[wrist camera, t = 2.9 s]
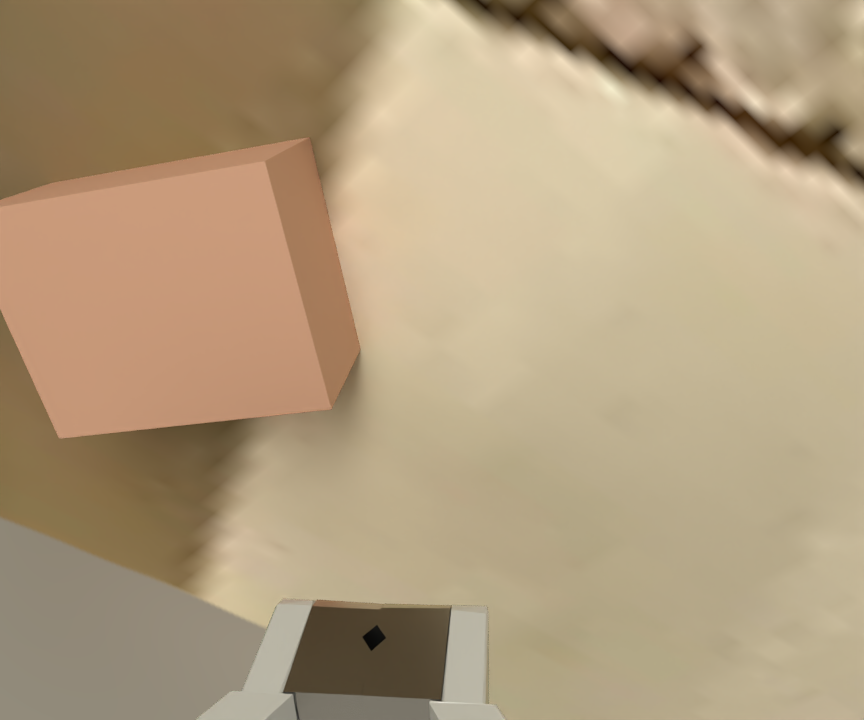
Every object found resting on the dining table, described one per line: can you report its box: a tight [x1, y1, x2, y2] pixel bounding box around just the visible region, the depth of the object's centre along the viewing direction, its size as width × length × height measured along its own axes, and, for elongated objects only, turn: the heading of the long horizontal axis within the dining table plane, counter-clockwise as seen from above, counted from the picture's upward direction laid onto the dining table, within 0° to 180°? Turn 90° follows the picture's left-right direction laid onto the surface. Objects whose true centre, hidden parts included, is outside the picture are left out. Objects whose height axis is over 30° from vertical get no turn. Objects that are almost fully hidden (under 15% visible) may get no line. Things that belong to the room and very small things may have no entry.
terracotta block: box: [0, 137, 360, 438], centre depth 24 cm, size 10×8×5 cm
